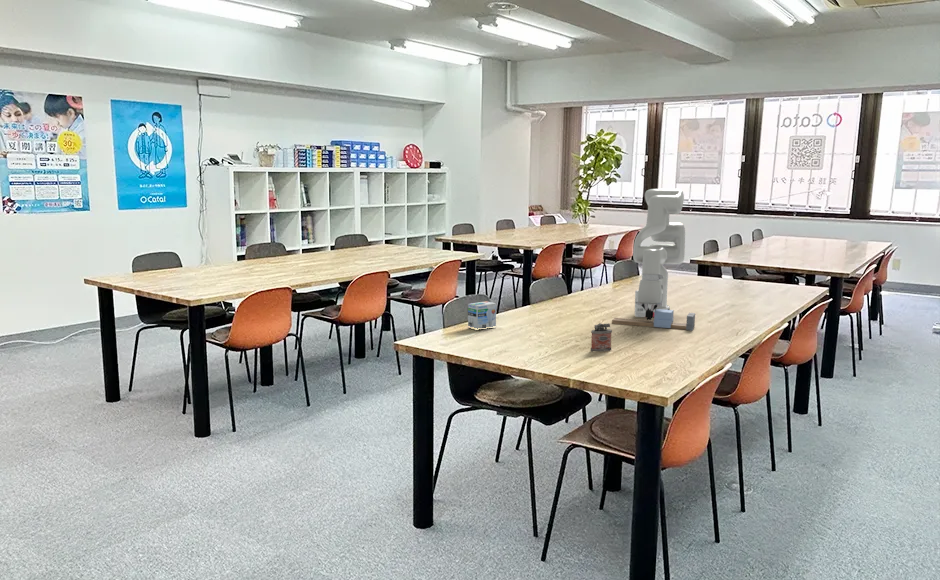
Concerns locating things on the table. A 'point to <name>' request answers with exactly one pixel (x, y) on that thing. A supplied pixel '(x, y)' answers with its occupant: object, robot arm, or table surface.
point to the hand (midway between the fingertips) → (649, 319)
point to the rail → (685, 326)
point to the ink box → (640, 308)
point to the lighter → (601, 338)
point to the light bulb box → (482, 314)
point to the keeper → (663, 318)
